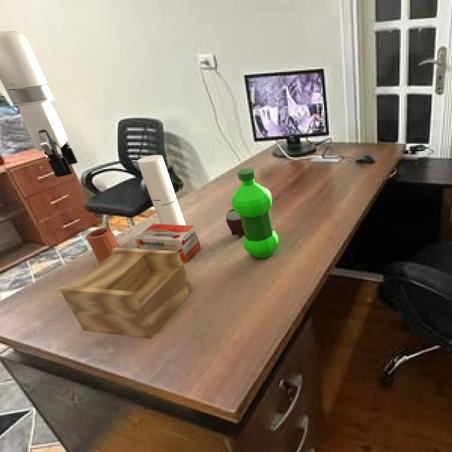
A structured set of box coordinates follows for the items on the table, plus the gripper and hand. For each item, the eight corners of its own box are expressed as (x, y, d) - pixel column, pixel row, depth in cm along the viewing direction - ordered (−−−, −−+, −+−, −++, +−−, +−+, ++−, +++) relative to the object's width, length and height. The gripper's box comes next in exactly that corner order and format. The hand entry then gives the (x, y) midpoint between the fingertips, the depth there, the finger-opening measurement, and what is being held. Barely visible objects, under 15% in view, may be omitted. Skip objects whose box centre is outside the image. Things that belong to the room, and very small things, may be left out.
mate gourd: (228, 239, 109) (216, 196, 102) (232, 227, 116) (221, 186, 109) (252, 237, 110) (242, 193, 102) (255, 225, 117) (245, 183, 109)
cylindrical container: (169, 225, 122) (144, 155, 110) (189, 223, 122) (166, 154, 109) (160, 235, 116) (132, 163, 104) (180, 234, 115) (155, 161, 103)
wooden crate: (83, 330, 79) (58, 288, 73) (132, 285, 93) (115, 247, 87) (151, 338, 75) (130, 295, 69) (192, 290, 89) (178, 250, 83)
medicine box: (142, 260, 103) (133, 237, 99) (160, 245, 110) (152, 223, 106) (187, 263, 100) (178, 239, 96) (202, 248, 106) (195, 225, 102)
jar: (93, 263, 104) (80, 238, 99) (110, 251, 109) (98, 226, 105) (111, 265, 102) (99, 238, 98) (127, 252, 108) (115, 227, 103)
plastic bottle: (242, 249, 104) (222, 169, 91) (277, 240, 107) (262, 161, 94) (248, 267, 95) (226, 182, 83) (285, 256, 98) (270, 173, 86)
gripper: (21, 94, 82) (56, 163, 91) (-2, 103, 69) (42, 184, 77) (58, 89, 85) (88, 157, 93) (43, 97, 71) (81, 176, 80)
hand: (67, 169), depth 85 cm, fingers open, 9 cm apart
